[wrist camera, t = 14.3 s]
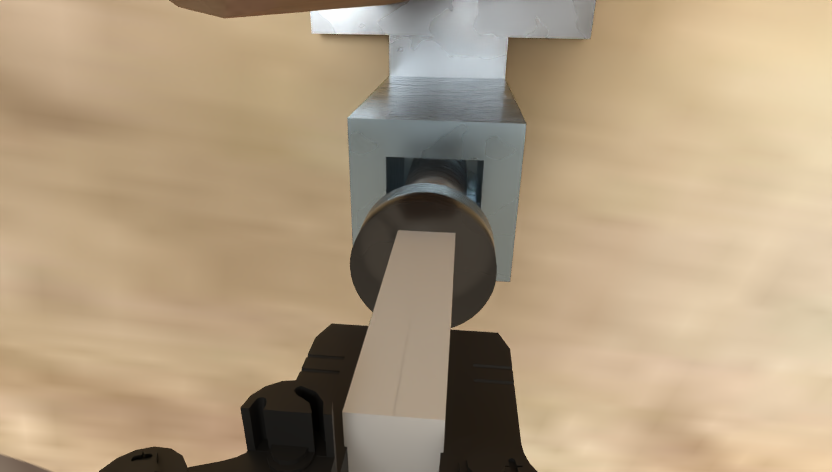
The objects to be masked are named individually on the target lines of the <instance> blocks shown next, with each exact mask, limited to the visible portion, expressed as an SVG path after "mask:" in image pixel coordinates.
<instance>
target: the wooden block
mask: <svg viewBox="0 0 832 472" xmlns="http://www.w3.org/2000/svg"><path fill="white" fill-rule="evenodd" d="M170 1H171V2H172V3H174V4H175V5H177V6H178V7H181V8H185V9H189V10H193V11H197V12H201V13H205V14H209V15H213V16H217V17H221V18H234V17H246V16H258V15H271V14H283V13H295V12H307V11H319V10H331V9H344V8H356V7H368V6H380V5H388V4H393V3H398V2H404V1H409V0H170Z"/></svg>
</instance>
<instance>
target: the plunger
mask: <svg viewBox="0 0 832 472" xmlns="http://www.w3.org/2000/svg"><path fill="white" fill-rule="evenodd" d="M398 230H405V231H425V232H445V233H456V234H455V253H454V273H453V293H452V313H451V328H452V327H455V326H458V325H460V324H462V323H464V322H466V321H467V320H469V319H470V318H472V317H473V316H474V315H475V314H477V313H478V312H479V311H480V310H481V309H482V308H483V306H484V305H485V304H486V302H487V301H488V299H489V298H490V296H491V294H492V292H493V289H494V286H495V282H496V276H497V263H496V254H495V246H494V238H493V232H492V229H491V226H490V223H489V221H488V219H487V217H486V216H485V214H484V212H483V211H482V210H481V209H480V207H479V206H478V205H477V204H476V203H475V202H474V201H473V200H472V199H470V198H469V197H468V196H467V163H466V160H458V159H432V158H413V161H412V164H411V167H410V170H409V173H408V176H407V179H406V182H405V185H404V186H403V187H400V188H397V189H395V190H393V191H391V192H389V193H388V194H386V195H385V196H383V197H382V198H381V199H380V200H378V202H377V203H376V204H375V205H374V206H373V207H372V208H371V210H370V211H369V213H368V214H367V216H366V218H365V220H364V222H363V225H362V227H361V229H360V231H359V233H358V235H357V238H356V240H355V242H354V245H353V248H352V252H351V257H350V270H351V277H352V280H353V284H354V286H355V289H356V291H357V293H358V294H359V296H360V298H361V299H362V301H363V302H364V303H365V304H366V306H367V307H368V308H369V309H370V310H371V311H372V312H373V310H374V307H375V304H376V300H377V297H378V294H379V291H380V287H381V284H382V281H383V278H384V274H385V271H386V268H387V265H388V261H389V258H390V255H391V252H392V248H393V245H394V242H395V238H396V235H397V232H398Z"/></svg>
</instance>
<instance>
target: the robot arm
mask: <svg viewBox="0 0 832 472" xmlns="http://www.w3.org/2000/svg"><path fill="white" fill-rule="evenodd" d="M455 234H456V233H445V232H425V231H405V230H398V232H397V235H396V238H395V242H394V245H393V248H392V252H391V255H390V258H389V261H388V265H387V268H386V271H385V274H384V278H383V281H382V284H381V287H380V291H379V294H378V297H377V300H376V304H375V307H374V310H373V314H372V317H371V320H370V323H369V326H359V325H344V324H331V325H330V326H328V327H327V328H326V329H325V330H324V331H323V332H321V333H320V334H319V335H318V336H317V337H316V338H315V340H314V342H313V344H312V347H311V349H310V351H309V353H308V358H306V360H305V362H304V364H303V366H302V371H301V372H300V373H299V375H298V377H297V380H293V381H281V382H278V383H275V384H272V385H269V386H265V387H264V388H262V389H261V390H259V391H257V392H256V393H254V394H253V395H251V396H250V397H249V398H248V400H247V401H246V402H245V403H244V404H243V405H242V407H241V414H242V420H243V426H244V432H245V438H246V444H247V450H248V451H247V453H245V454H243V455H240V456H238V457H235V458H232V459H228V460H225V461H220V462H215V463H209V464H204V465H199V466H193V467H188V468H187V465H186V463H185V461H184V458H183V456H182V455H180V454H179V453H177V452H176V451H174V450H172V449H170V448H162V447H150V448H145V449H139V450H135V451H133V452H130V453H128V454H126V455H123V456H121V457H119V458H117V459H115V460H114V461H113V462H111V463H110V464H108V465H107V466H106V467H104V468H103V469H101V470H100V471H99V472H537V471H536V470H535V469H534V468H533V467H532V465H531V464H530V463H529V461H528V460H527V458H526V456H525V454H524V452H523V448H522V445H521V438H520V430H519V422H518V413H517V405H516V396H515V388H514V379H513V371H512V362H511V354H510V348H509V347H508V346H507V344H506V343H505V342H504V340H503V339H502V338H501V336H500V335H499V334H498V333H492V332H477V331H461V330H451V313H452V293H453V273H454V253H455Z"/></svg>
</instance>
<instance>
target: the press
mask: <svg viewBox="0 0 832 472" xmlns="http://www.w3.org/2000/svg"><path fill="white" fill-rule="evenodd" d="M595 4H596V0H409V1H404V2H398V3H393V4H388V5H380V6H368V7H356V8H344V9H331V10H319V11H310V15H311V31H312V33H317V34H366V35H389V77H388V78H387V79H386V80H385V81H384V82H383V83H382V84H381V85H380V86H379V87H378V88H377V89H376V90H375V91H374V92H373V93H372V94H371V95H370V96H369V97H368V98H367V99H366V100H365V101H364V102H363V103H362V104H361V105H360V106H359V107H358V108H357V109H356V110H355V111H354V112H353V113H352V114H351V115H350V116H349V117H348V118H347V119H348V143H349V166H350V190H351V214H352V238H353V245H354V242H355V240H356V238H357V235H358V233H359V231H360V229H361V227H362V225H363V222H364V220H365V218H366V216H367V214H368V213H369V211H370V210H371V208H372V207H373V206H374V205H375V204H376V203H377V202H378V200H380V199H381V198H382V197H383V196H385V195H386V194H388V193H389V192H391V191H393V190H395V189H397V188H400V187H403V186H404V185H405V182H406V179H407V176H408V173H409V170H410V167H411V164H412V161H413V158H432V159H458V160H466V163H467V196H468V197H469V198H470V199H472V200H473V201H474V202H475V203H476V204H477V205H478V206H479V207H480V209H481V210H482V211H483V212H484V214H485V216H486V217H487V219H488V221H489V223H490V226H491V229H492V232H493V238H494V246H495V254H496V263H497V276H496V281H504V282H510V277H511V268H512V258H513V248H514V239H515V229H516V219H517V210H518V200H519V191H520V181H521V171H522V162H523V152H524V142H525V133H526V122H525V120H524V118H523V116H522V114H521V112H520V109H519V107H518V105H517V103H516V101H515V99H514V97H513V95H512V93H511V91H510V88H509V86H508V84H507V82H506V80H505V73H506V61H507V49H508V37H512V38H561V39H590V38H591V31H592V25H593V18H594V11H595Z"/></svg>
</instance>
